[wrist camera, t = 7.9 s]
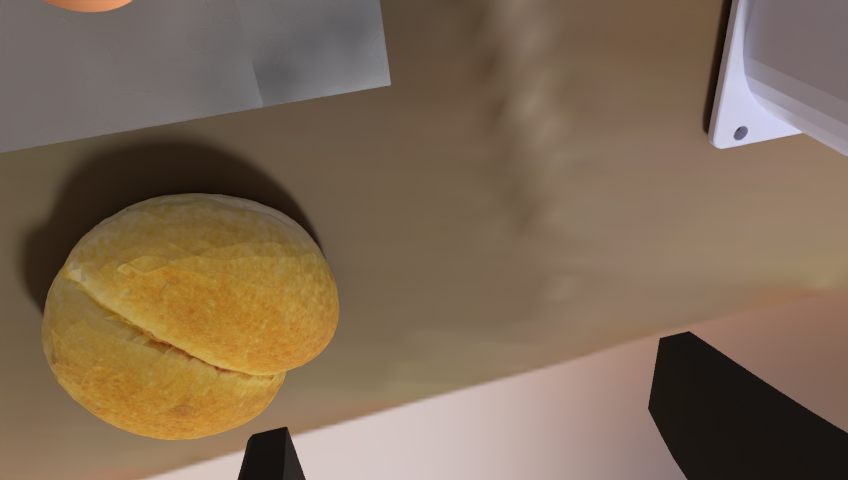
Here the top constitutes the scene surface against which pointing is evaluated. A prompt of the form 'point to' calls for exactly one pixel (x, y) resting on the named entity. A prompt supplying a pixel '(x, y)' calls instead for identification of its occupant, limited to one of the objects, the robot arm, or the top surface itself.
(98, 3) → the sausage
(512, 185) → the top surface
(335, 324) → the bread roll
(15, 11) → the slotted grey box
